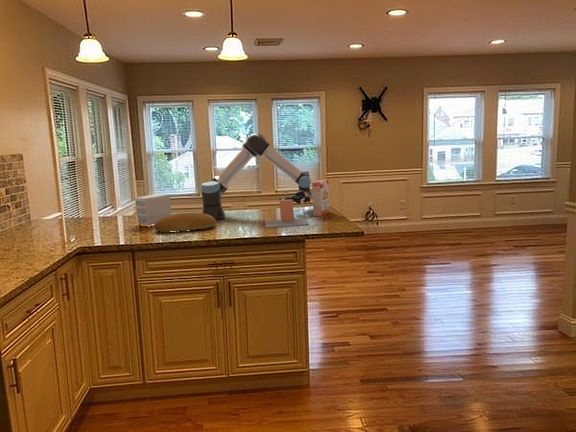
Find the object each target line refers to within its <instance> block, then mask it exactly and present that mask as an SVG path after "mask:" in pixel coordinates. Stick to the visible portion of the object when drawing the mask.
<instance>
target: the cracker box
mask: <svg viewBox="0 0 576 432" xmlns="http://www.w3.org/2000/svg"><path fill="white" fill-rule="evenodd" d="M329 185H330V184H329V180H328V179H320V180H316V181H311V192H312V196H311V197H312V213H313V214H312V216H313V217H323V216H325V215H327V214H330V212H331V211H330V190H329V187H330V186H329Z"/></svg>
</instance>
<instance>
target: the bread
mask: <svg viewBox="0 0 576 432" xmlns="http://www.w3.org/2000/svg"><path fill="white" fill-rule="evenodd" d="M216 223H217V221H216V220H215V219H214V218H213V217H212V216H210V215H208V214H204V213H202V212H198V211H197V212H196V211H195V212H177V213H172V214H171V215H167V216H165V217H162V218H161V219H159V220H158V221H157V222H156V224H155V226H153V227H154V230H155V231H156V232H158V231H160V232H159V233H170V231H187V230H195V231H198V230H197V229H201V230H205V229H209V228H210V229H211V228H213V227H215V226H216Z"/></svg>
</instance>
